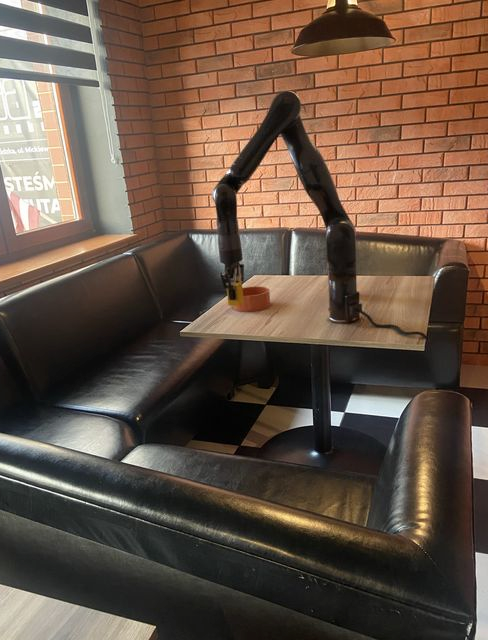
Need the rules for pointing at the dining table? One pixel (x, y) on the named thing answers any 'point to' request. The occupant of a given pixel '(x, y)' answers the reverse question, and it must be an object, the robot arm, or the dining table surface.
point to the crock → (254, 299)
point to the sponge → (239, 296)
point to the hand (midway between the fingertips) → (235, 297)
